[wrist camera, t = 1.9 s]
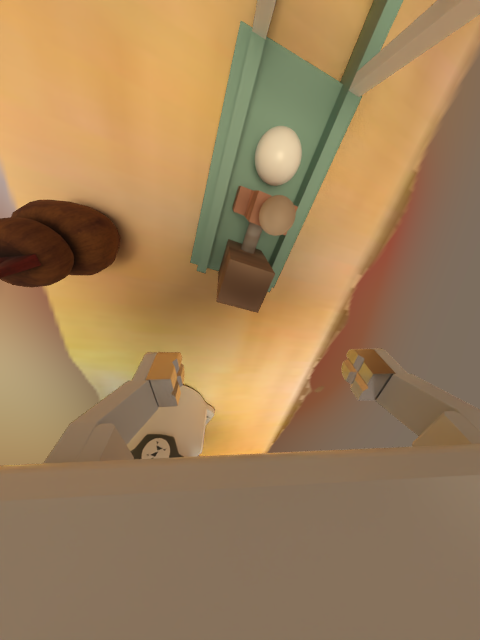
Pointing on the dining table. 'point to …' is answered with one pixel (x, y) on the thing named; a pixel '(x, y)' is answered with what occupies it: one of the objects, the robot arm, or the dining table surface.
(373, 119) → the dining table surface
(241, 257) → the brown lever
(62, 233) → the wooden figurine
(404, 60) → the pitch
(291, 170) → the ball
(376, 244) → the dining table surface
